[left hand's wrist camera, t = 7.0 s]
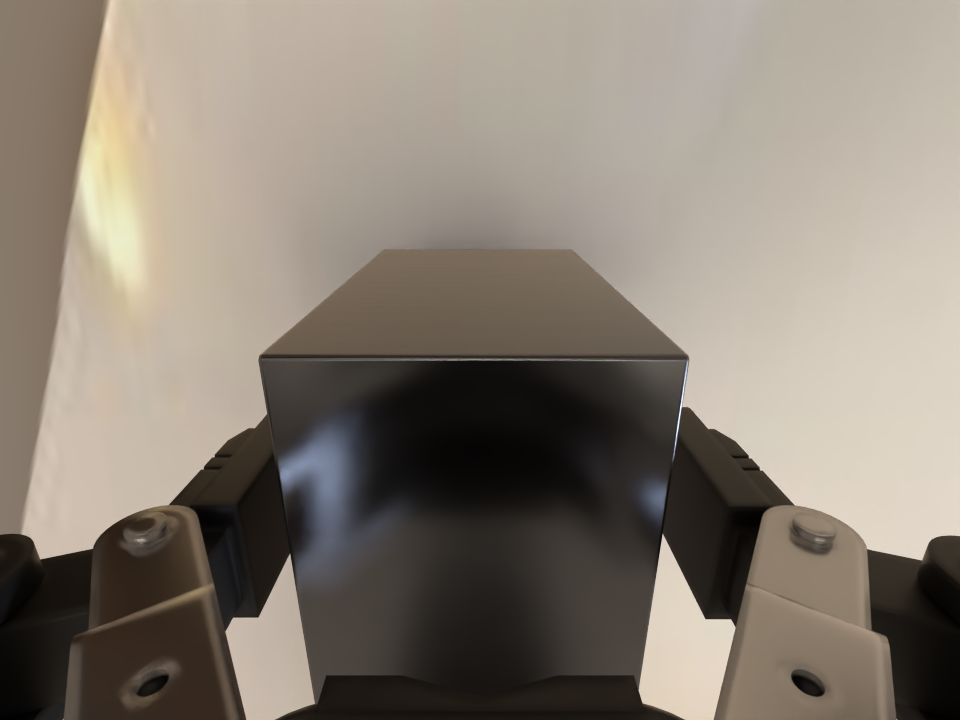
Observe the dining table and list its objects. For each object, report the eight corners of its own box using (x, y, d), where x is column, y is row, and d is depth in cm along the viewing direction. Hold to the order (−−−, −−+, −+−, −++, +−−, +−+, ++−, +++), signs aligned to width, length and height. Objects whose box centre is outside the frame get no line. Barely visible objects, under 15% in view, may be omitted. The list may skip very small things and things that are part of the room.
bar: (382, 249, 15) (255, 356, 7) (573, 249, 15) (691, 355, 7) (417, 763, 23) (380, 1107, 15) (540, 763, 23) (575, 1108, 15)
